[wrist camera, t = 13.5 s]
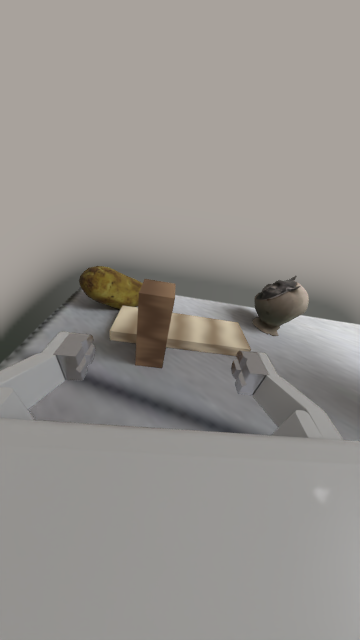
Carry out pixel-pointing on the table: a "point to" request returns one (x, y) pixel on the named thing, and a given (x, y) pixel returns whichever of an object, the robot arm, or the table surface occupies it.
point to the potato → (110, 287)
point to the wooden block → (153, 322)
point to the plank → (186, 333)
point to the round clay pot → (279, 305)
